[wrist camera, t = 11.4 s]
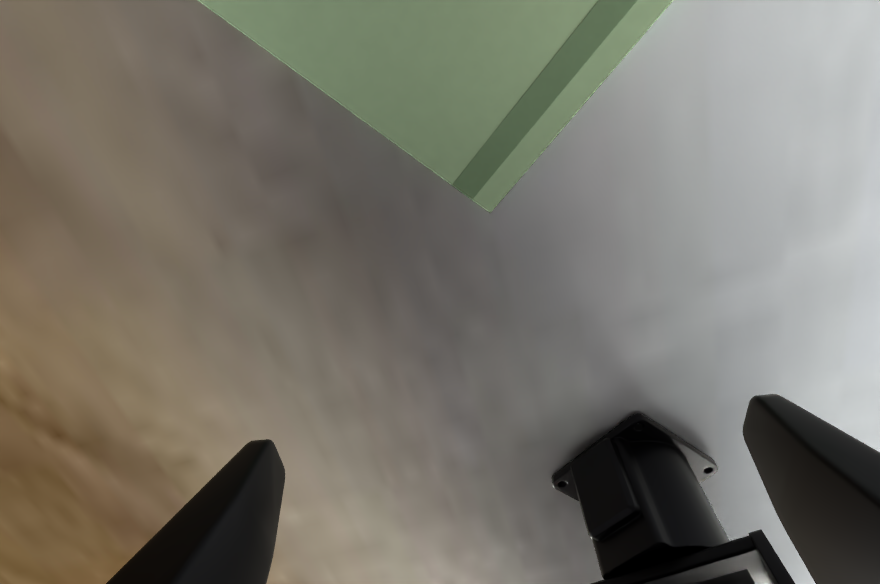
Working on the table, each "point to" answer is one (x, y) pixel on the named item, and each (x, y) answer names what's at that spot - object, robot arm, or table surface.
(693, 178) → the table surface
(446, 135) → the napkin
